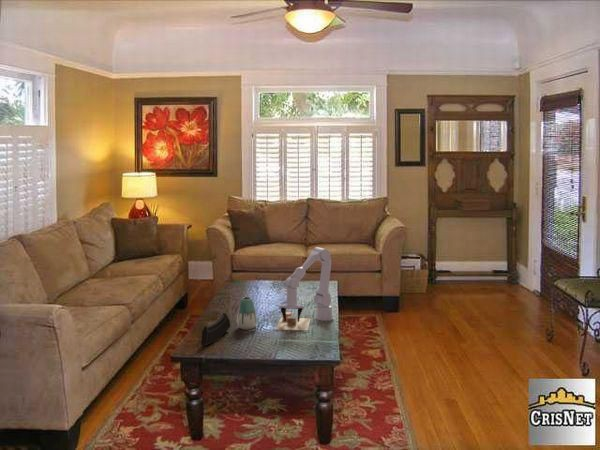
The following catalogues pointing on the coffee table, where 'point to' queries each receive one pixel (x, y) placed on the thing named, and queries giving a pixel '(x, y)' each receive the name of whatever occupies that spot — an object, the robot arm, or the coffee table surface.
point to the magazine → (215, 330)
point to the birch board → (299, 325)
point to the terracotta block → (287, 315)
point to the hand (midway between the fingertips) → (291, 320)
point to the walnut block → (291, 320)
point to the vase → (246, 314)
